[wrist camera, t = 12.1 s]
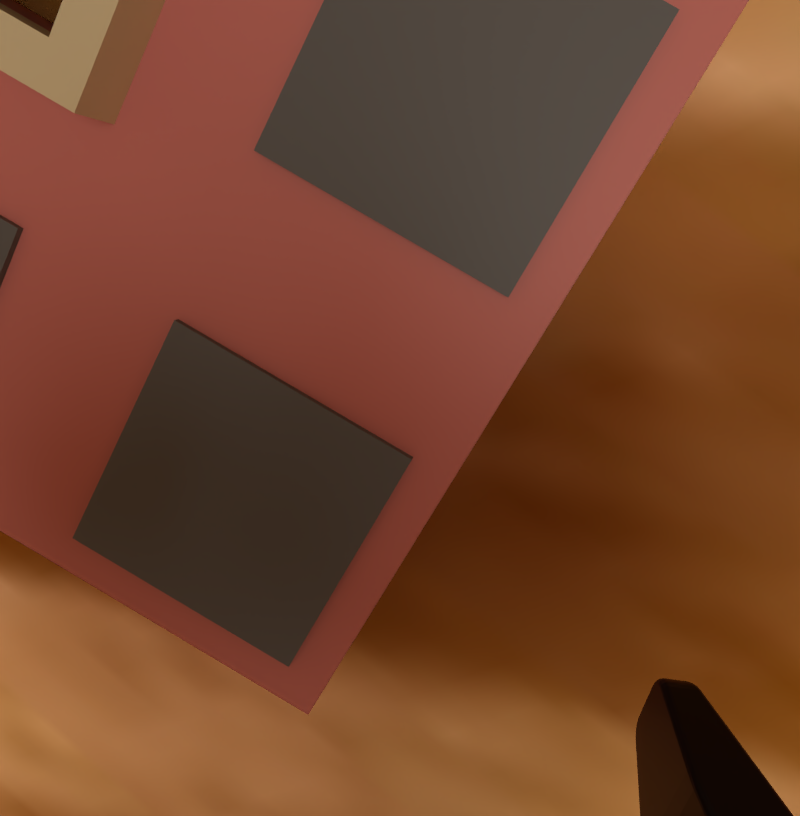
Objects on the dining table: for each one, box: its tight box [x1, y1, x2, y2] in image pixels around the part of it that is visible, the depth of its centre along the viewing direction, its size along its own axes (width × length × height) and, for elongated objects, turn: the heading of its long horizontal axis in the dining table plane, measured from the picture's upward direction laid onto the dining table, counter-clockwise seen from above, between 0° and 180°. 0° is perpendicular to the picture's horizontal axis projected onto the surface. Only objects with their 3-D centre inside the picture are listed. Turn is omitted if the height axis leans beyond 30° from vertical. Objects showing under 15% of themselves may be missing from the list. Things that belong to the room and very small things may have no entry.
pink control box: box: [0, 0, 749, 714], centre depth 17 cm, size 18×18×4 cm
